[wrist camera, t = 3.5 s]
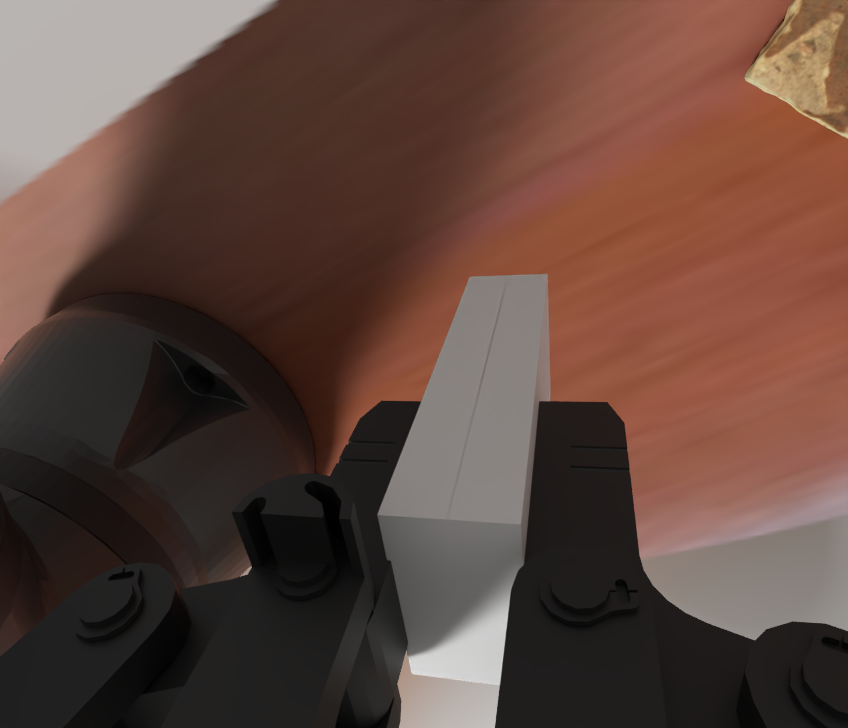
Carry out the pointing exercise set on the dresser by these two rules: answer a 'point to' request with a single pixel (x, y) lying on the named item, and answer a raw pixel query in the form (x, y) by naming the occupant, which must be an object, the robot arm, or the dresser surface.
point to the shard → (809, 62)
